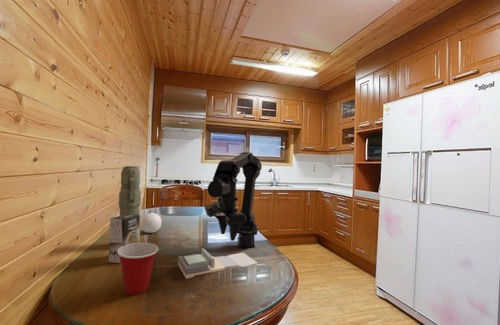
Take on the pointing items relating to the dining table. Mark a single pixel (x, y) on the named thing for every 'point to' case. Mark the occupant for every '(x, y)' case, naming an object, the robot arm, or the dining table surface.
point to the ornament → (151, 222)
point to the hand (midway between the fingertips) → (227, 237)
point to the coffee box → (122, 234)
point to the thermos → (130, 191)
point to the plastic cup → (137, 266)
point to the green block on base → (200, 259)
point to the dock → (220, 264)
